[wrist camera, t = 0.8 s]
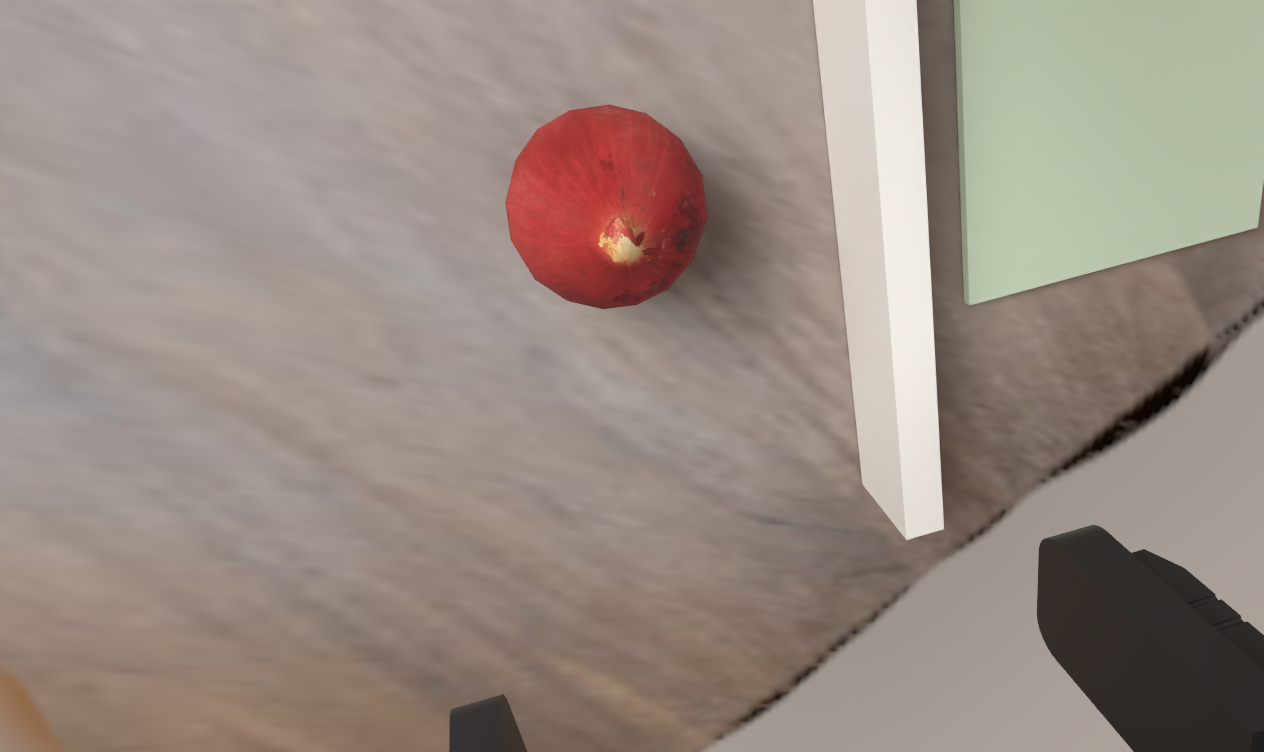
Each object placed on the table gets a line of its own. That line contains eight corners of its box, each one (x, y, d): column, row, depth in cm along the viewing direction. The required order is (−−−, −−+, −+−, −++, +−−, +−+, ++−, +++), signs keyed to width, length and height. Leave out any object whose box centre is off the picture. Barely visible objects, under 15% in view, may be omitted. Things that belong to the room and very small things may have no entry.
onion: (696, 118, 28) (775, 166, 21) (648, 281, 31) (704, 374, 23) (524, 69, 27) (546, 103, 20) (485, 244, 29) (492, 332, 22)
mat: (952, -37, 28) (958, -38, 27) (1291, -119, 29) (1302, -121, 28) (963, 302, 33) (969, 305, 33) (1249, 224, 34) (1257, 227, 34)
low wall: (785, -268, 24) (840, -311, 21) (836, -280, 24) (899, -323, 21) (862, 483, 36) (906, 539, 32) (896, 474, 36) (944, 529, 32)
